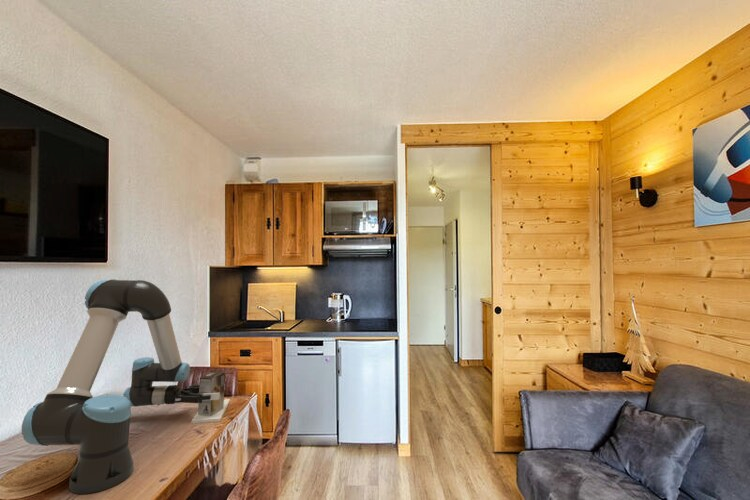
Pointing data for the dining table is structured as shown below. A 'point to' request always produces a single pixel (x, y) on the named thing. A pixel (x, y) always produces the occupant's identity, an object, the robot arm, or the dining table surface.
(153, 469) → the dining table surface
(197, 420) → the marked board
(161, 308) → the robot arm
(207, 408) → the coffee box
